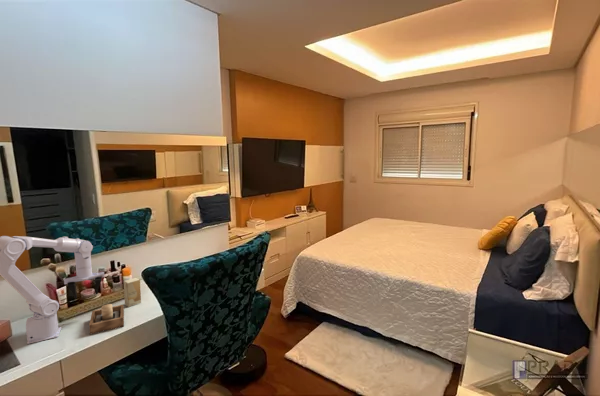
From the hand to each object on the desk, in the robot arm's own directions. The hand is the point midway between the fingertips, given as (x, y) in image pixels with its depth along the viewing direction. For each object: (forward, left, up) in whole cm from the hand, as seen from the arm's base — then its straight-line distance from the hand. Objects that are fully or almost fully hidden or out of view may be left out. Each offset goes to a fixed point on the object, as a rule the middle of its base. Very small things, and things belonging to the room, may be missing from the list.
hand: (86, 295), depth 136 cm
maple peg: (+8, -10, -10) cm, 16 cm away
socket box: (+8, -10, -10) cm, 17 cm away
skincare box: (+18, +5, -11) cm, 21 cm away
